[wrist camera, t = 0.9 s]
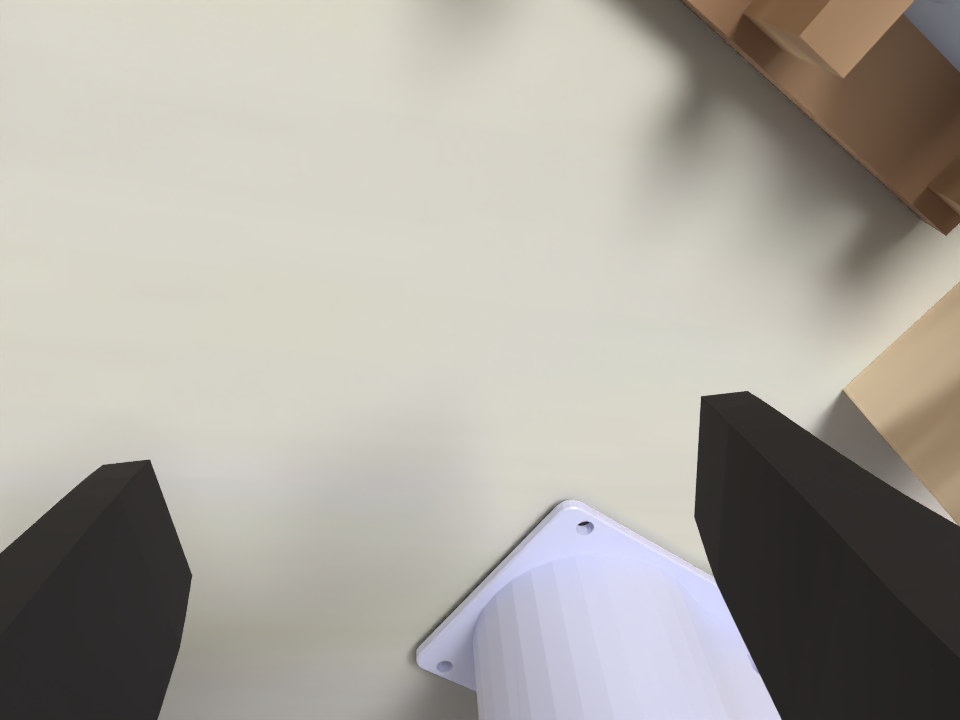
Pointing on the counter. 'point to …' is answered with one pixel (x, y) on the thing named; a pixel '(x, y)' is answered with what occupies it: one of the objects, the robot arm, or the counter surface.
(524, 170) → the counter surface
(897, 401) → the wooden block
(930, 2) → the blue slat
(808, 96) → the rack
